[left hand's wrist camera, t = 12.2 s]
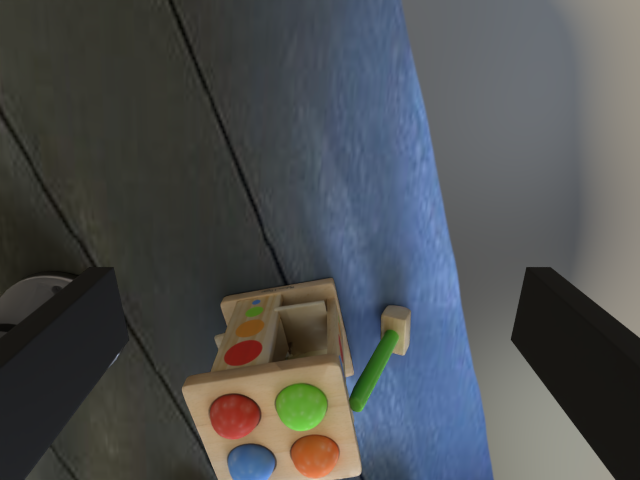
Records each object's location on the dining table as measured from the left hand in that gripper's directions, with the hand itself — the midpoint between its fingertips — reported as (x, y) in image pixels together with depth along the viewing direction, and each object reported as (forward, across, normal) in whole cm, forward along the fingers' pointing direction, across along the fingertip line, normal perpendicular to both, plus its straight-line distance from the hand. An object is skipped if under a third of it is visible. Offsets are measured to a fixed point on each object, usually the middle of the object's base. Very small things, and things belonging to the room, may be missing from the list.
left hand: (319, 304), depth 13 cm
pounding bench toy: (+32, 0, +23) cm, 40 cm away
